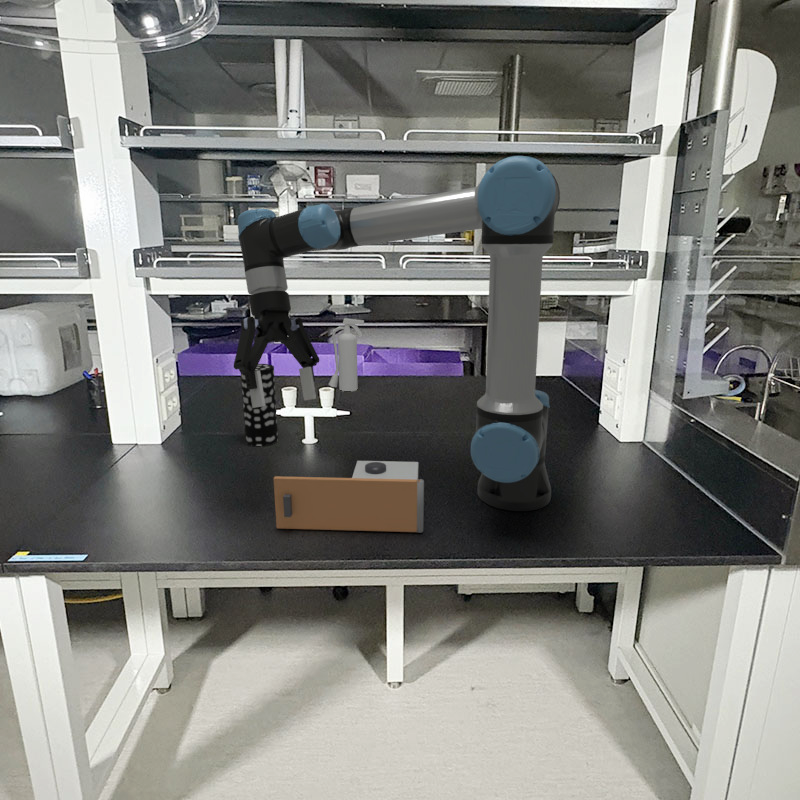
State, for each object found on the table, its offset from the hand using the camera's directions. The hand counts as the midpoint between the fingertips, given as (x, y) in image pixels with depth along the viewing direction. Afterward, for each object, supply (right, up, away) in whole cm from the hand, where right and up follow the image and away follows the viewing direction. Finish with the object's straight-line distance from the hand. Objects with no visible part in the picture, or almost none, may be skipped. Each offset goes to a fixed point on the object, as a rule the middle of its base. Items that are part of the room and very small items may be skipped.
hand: (285, 403), depth 113 cm
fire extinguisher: (+3, +4, +94) cm, 94 cm away
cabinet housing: (+19, -22, +1) cm, 29 cm away
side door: (+13, -23, -4) cm, 27 cm away
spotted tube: (-15, -10, +43) cm, 47 cm away
